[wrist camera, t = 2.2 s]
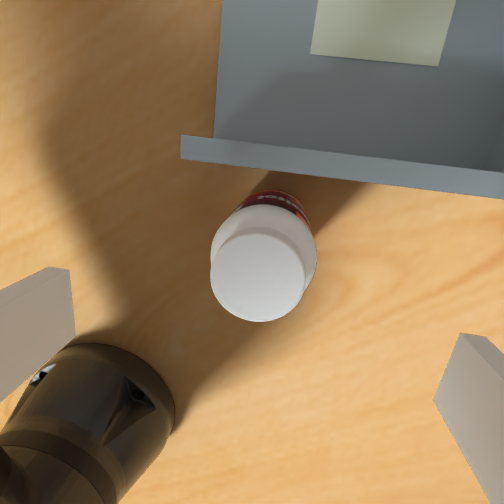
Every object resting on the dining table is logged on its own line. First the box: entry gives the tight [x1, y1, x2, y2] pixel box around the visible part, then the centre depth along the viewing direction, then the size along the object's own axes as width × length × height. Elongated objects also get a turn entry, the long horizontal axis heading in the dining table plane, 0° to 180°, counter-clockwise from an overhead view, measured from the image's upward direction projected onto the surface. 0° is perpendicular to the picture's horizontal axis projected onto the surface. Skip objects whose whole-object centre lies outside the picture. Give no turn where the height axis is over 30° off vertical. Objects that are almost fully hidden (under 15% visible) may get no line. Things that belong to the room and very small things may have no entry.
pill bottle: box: [210, 190, 317, 322], centre depth 20 cm, size 6×6×11 cm
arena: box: [180, 0, 504, 199], centre depth 16 cm, size 20×18×8 cm
